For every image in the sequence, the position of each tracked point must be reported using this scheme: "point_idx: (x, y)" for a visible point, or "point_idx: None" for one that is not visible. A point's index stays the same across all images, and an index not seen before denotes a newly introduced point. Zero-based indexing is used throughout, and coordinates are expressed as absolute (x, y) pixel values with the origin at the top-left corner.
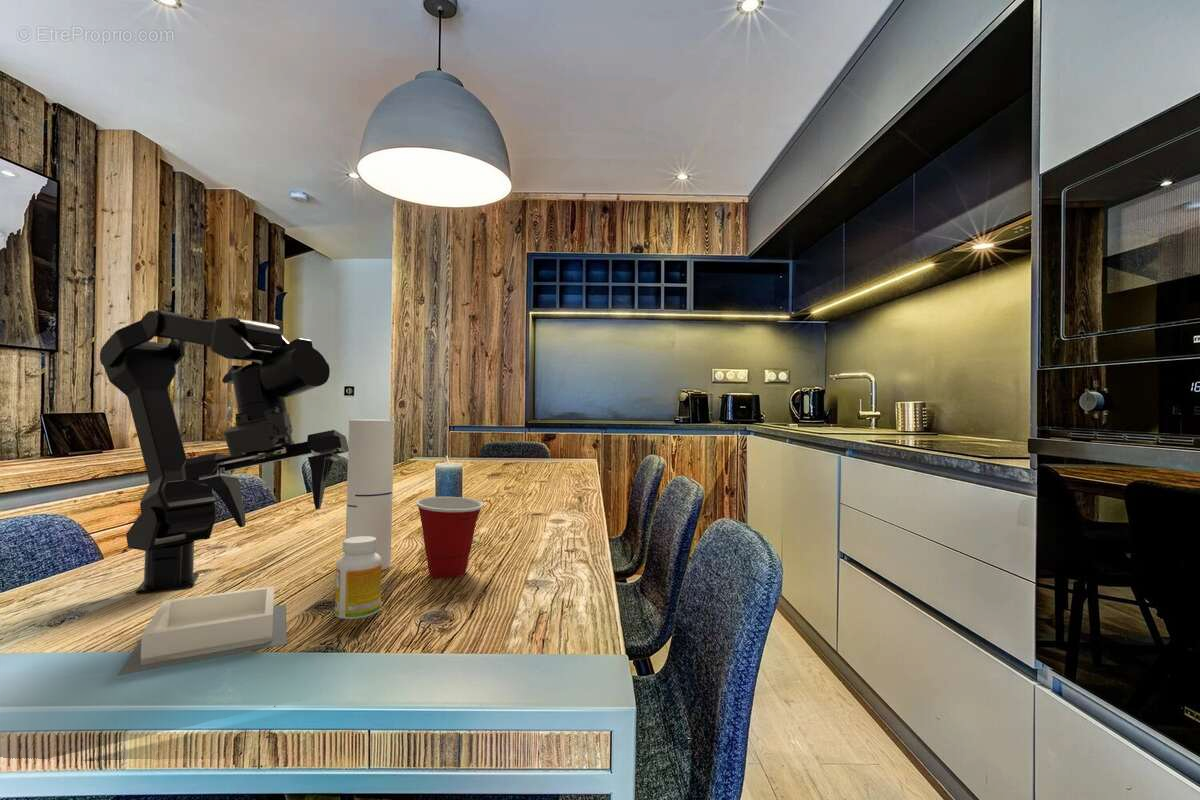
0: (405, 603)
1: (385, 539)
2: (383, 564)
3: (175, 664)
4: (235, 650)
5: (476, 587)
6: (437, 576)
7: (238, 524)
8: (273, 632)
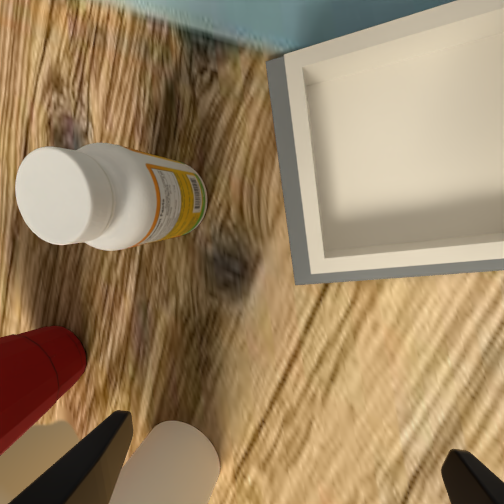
0: None
1: None
2: (150, 434)
3: None
4: None
5: (23, 263)
6: (72, 335)
7: (477, 461)
8: None
